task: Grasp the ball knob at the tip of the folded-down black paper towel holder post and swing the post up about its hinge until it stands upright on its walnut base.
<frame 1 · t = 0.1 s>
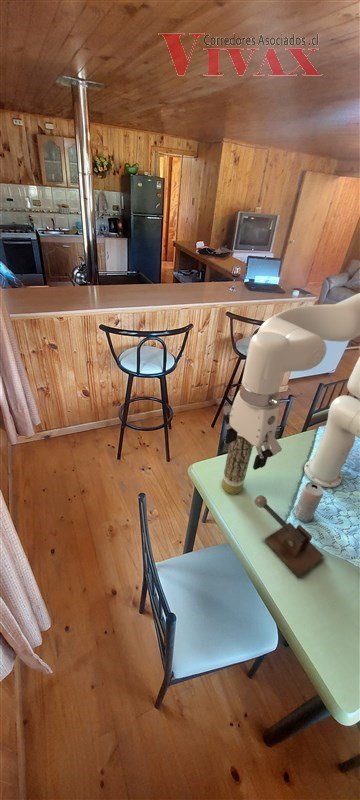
hand: (243, 453, 77), 31 cm above the table, tool pointing down, fingers open, 9 cm apart
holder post: (278, 518, 93), point 6 cm above the table, hinge at 0.0°
energy drink: (302, 515, 102), on the table
wooden log: (231, 487, 109), on the table
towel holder: (292, 550, 91), on the table
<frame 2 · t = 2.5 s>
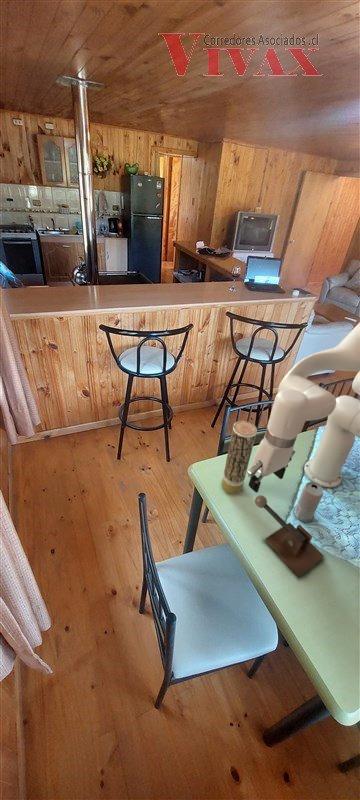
hand: (265, 482, 92), 14 cm above the table, tool pointing down, fingers open, 9 cm apart
nothing on the table moved.
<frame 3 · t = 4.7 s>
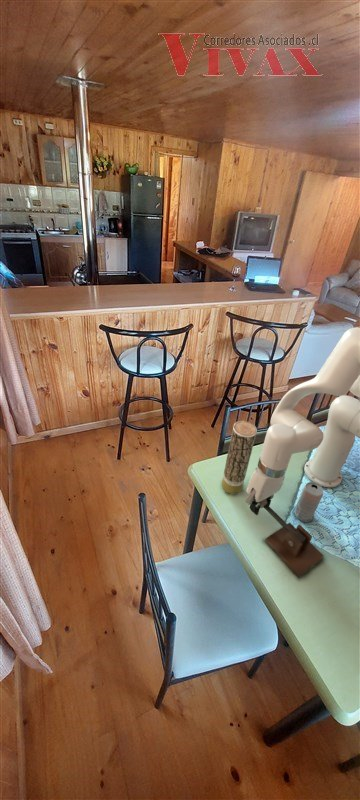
hand: (258, 507, 99), 3 cm above the table, tool pointing down, fingers closed on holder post, 3 cm apart
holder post: (278, 518, 93), point 5 cm above the table, hinge at 0.0°, touching gripper
everything else where it was.
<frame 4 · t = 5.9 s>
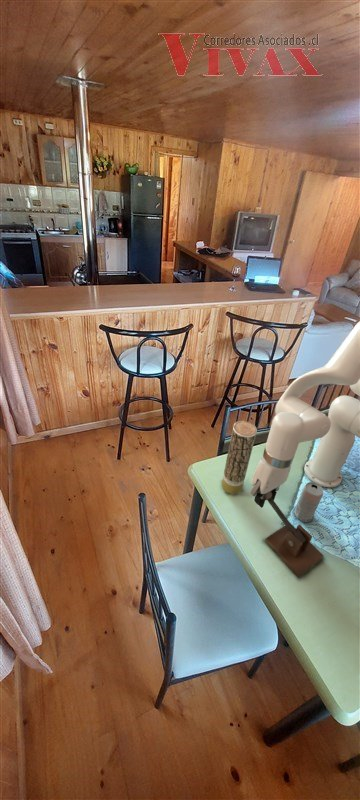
hand: (263, 500, 96), 7 cm above the table, tool pointing down, fingers closed on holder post, 3 cm apart
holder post: (280, 514, 92), point 8 cm above the table, hinge at 17.6°, touching gripper
everything else where it was.
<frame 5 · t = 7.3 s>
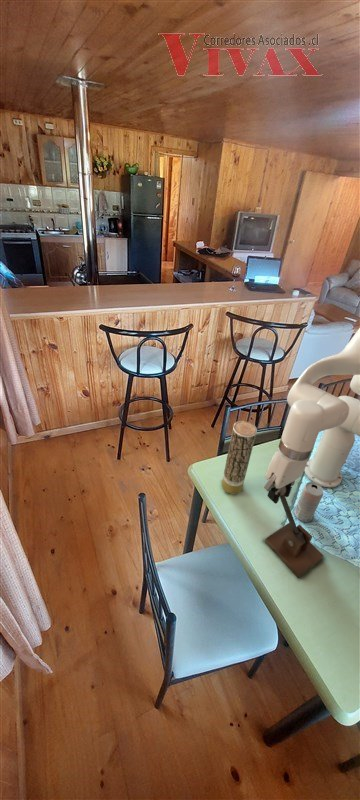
hand: (277, 496, 91), 13 cm above the table, tool pointing down, fingers closed on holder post, 3 cm apart
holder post: (288, 512, 89), point 11 cm above the table, hinge at 45.4°, touching gripper
everything else where it was.
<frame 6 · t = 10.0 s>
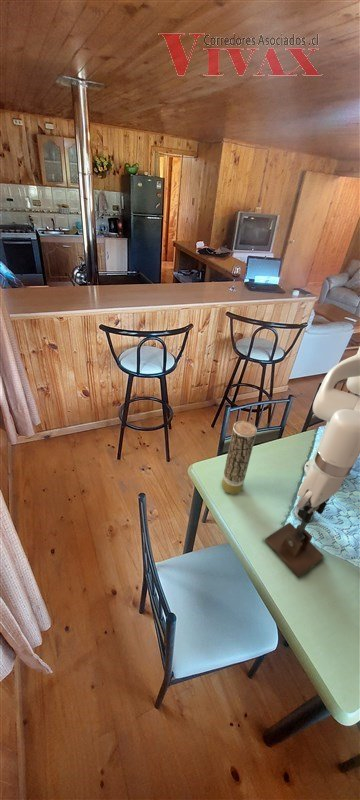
hand: (309, 513, 82), 16 cm above the table, tool pointing down, fingers open, 4 cm apart
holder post: (304, 521, 85), point 13 cm above the table, hinge at 87.7°
everything else where it was.
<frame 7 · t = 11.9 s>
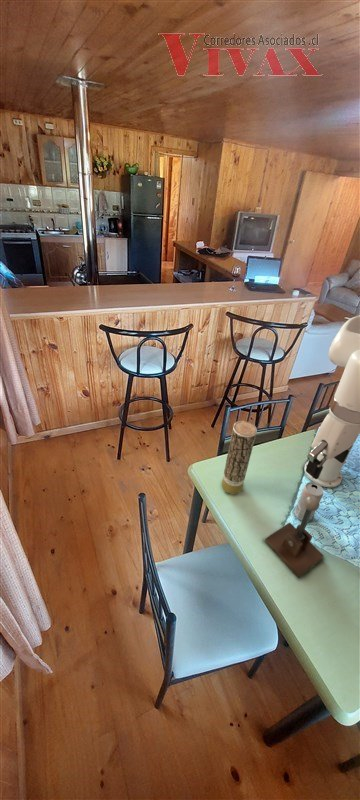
hand: (324, 466, 77), 30 cm above the table, tool pointing down, fingers open, 9 cm apart
nothing on the table moved.
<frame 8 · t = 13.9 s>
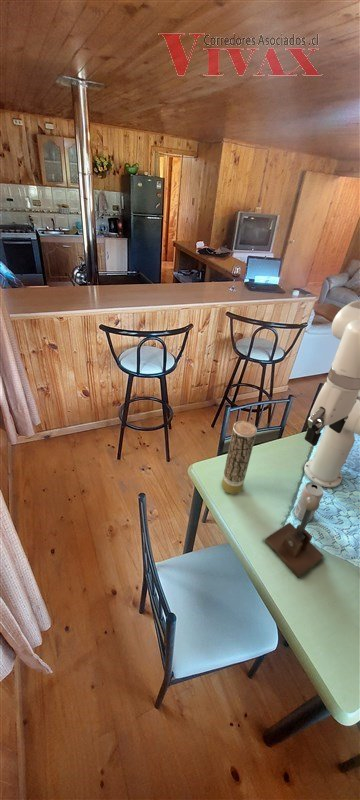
hand: (322, 436, 82), 32 cm above the table, tool pointing down, fingers open, 9 cm apart
nothing on the table moved.
at the end: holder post at +88° (first picture: +0°); the gripper is holding nothing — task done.
